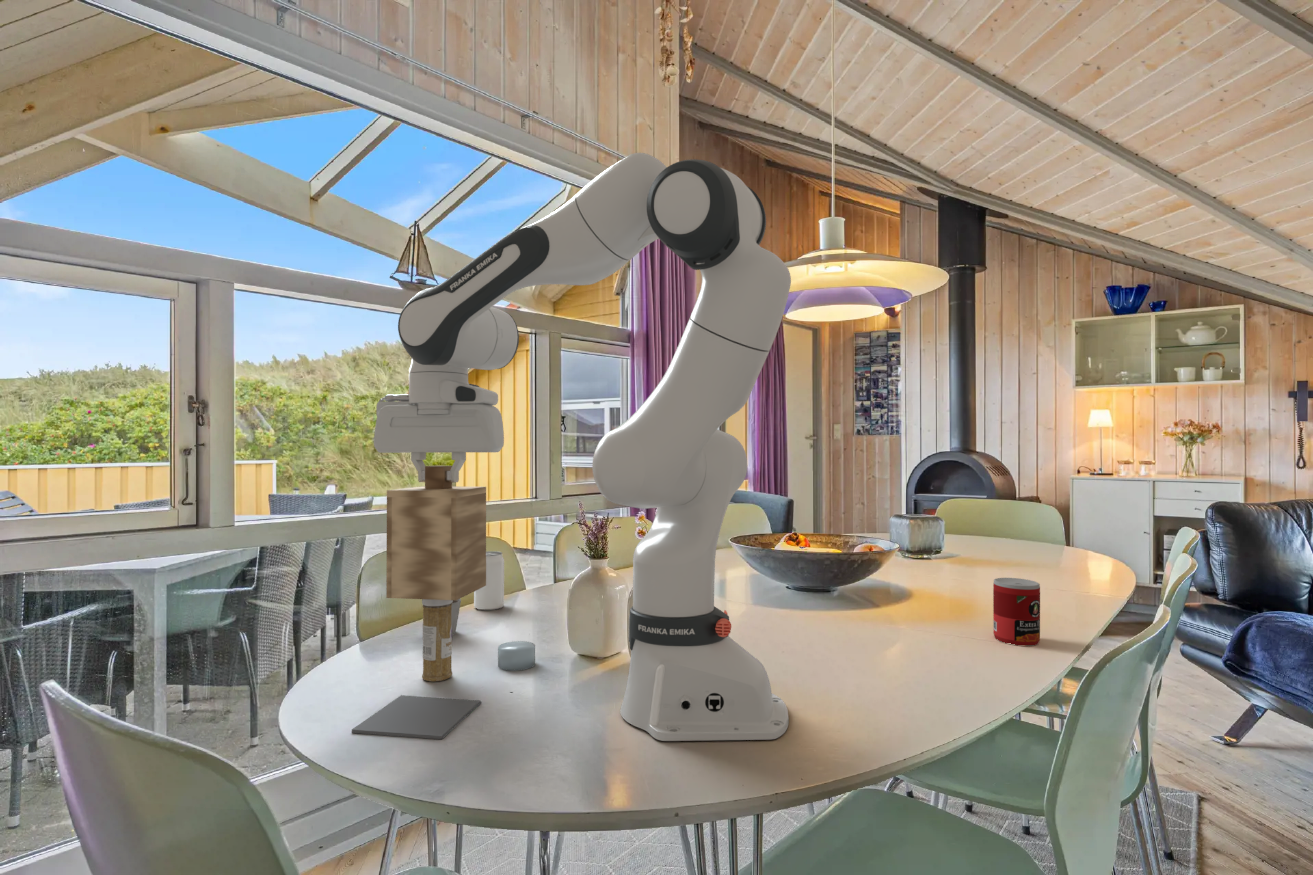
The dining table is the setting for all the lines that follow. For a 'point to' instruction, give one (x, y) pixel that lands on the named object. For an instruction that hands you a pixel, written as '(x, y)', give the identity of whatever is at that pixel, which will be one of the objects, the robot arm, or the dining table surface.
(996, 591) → the canned food
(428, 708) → the felt mat
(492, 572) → the can
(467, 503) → the oak cover
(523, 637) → the dining table surface
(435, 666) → the sprinkles bottle
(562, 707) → the dining table surface
